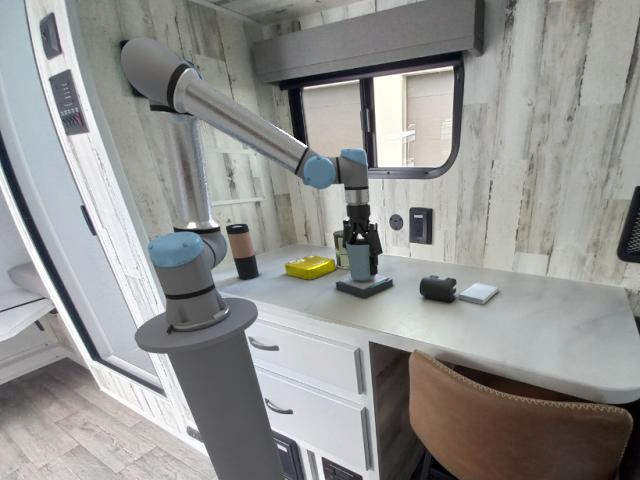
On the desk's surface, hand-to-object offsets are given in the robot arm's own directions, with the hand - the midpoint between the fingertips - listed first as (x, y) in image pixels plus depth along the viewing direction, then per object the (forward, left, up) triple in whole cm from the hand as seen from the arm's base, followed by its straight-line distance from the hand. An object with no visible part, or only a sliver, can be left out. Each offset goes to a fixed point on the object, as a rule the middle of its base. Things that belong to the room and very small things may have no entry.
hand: (363, 271), depth 105 cm
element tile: (-1, +30, -6) cm, 31 cm away
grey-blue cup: (0, 0, -2) cm, 2 cm away
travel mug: (-19, +46, -6) cm, 50 cm away
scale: (0, 0, -6) cm, 6 cm away
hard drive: (+17, -35, -6) cm, 39 cm away
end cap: (+7, -26, -6) cm, 28 cm away
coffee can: (+14, +24, -6) cm, 28 cm away
